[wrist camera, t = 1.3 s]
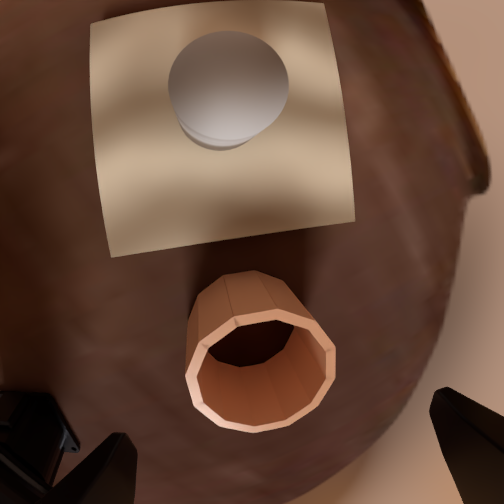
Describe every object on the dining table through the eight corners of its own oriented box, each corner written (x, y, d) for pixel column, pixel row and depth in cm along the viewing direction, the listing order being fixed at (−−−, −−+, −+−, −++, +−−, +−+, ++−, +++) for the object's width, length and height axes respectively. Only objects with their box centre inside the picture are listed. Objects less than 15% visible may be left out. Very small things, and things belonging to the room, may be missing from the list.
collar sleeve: (303, 360, 22) (333, 413, 16) (201, 379, 21) (204, 440, 15) (296, 263, 20) (334, 297, 14) (179, 281, 19) (172, 325, 13)
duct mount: (344, 217, 20) (403, 236, 13) (117, 251, 18) (80, 287, 12) (315, 13, 16) (357, -37, 10) (97, 33, 14) (62, -17, 8)
